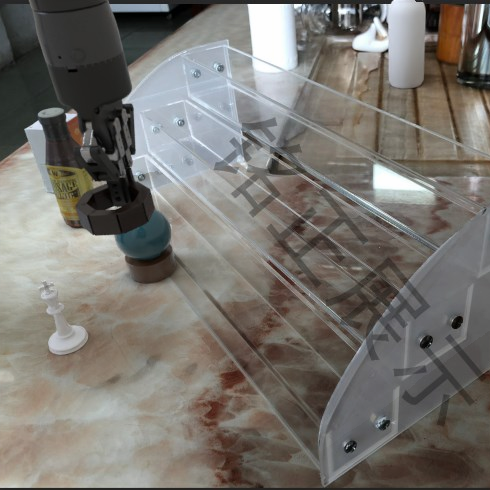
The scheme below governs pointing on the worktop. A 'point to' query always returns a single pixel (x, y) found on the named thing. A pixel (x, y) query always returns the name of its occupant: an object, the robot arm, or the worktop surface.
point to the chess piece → (61, 324)
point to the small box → (39, 145)
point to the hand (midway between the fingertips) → (126, 201)
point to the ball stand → (148, 250)
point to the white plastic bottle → (406, 43)
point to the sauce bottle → (63, 164)
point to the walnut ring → (118, 220)
